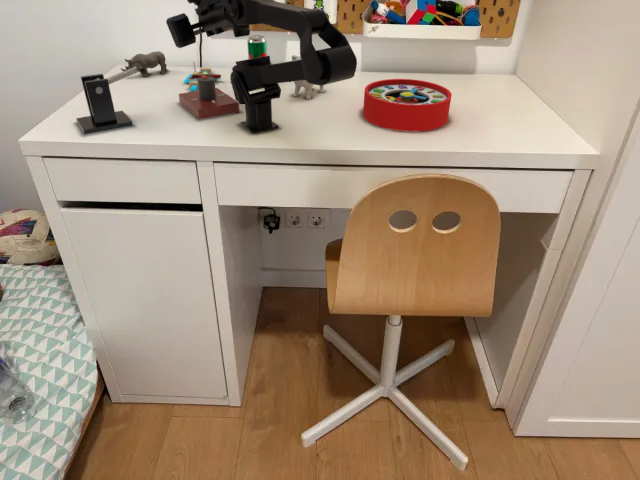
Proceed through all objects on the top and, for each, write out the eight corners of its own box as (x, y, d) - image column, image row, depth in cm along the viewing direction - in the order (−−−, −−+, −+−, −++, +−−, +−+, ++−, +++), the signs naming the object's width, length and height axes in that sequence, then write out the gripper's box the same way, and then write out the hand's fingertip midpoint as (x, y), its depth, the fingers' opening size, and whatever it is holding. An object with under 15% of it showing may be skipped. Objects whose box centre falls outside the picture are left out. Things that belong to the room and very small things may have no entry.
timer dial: (219, 98, 117) (217, 78, 114) (203, 101, 115) (200, 80, 112) (212, 94, 120) (210, 74, 117) (196, 96, 118) (194, 76, 115)
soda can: (269, 80, 139) (267, 35, 132) (266, 85, 135) (264, 39, 128) (252, 79, 139) (249, 34, 132) (248, 84, 135) (245, 38, 128)
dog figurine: (284, 100, 125) (282, 56, 119) (309, 87, 134) (309, 46, 128) (301, 103, 123) (301, 59, 117) (326, 90, 132) (327, 48, 126)
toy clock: (349, 95, 110) (385, 74, 125) (348, 120, 114) (383, 97, 128) (434, 111, 102) (463, 87, 116) (430, 138, 105) (458, 111, 120)
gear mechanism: (227, 72, 145) (195, 71, 145) (225, 53, 142) (193, 52, 142) (213, 93, 128) (177, 92, 128) (211, 72, 125) (174, 71, 125)
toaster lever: (141, 69, 109) (136, 59, 108) (147, 75, 106) (142, 64, 104) (90, 91, 106) (84, 80, 104) (95, 97, 102) (89, 87, 101)
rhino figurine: (119, 77, 138) (115, 55, 135) (165, 69, 146) (162, 48, 142) (125, 81, 136) (120, 58, 132) (171, 72, 143) (168, 51, 140)
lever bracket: (123, 115, 114) (113, 70, 108) (133, 126, 108) (123, 79, 102) (77, 123, 109) (64, 76, 103) (85, 135, 103) (72, 86, 98)
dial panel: (239, 112, 116) (238, 101, 115) (199, 120, 112) (197, 108, 110) (217, 97, 125) (216, 86, 124) (180, 103, 121) (178, 93, 119)
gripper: (246, -36, 105) (211, -20, 116) (171, -15, 95) (141, 0, 107) (263, 18, 110) (229, 29, 121) (194, 44, 100) (163, 52, 112)
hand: (192, 26), depth 115 cm, fingers open, 9 cm apart
